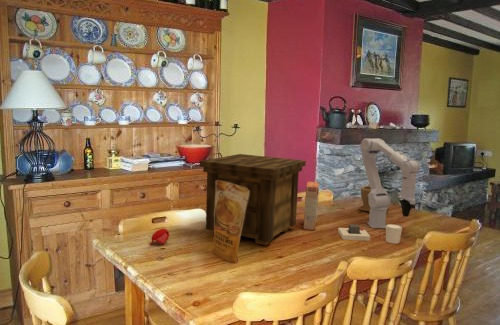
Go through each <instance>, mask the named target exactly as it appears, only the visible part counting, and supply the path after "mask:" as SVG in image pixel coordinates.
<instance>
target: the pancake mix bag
mask: <svg viewBox="0 0 500 325" xmlns="http://www.w3.org/2000/svg"><path fill="white" fill-rule="evenodd" d="M249 197H250V191H249V189H248V188H247V187H244V186H240V185H236V184H233V183H230V182H226V181H222V180H217V181H215V208H214V234H213V240H212V241H213V242H212V253H213V254H214V255H216V256H218V257H219V258H221V259H223V260H224V261H225V262H226V261H227V262H228V263H237V264H238V262H239V258H238V250H239V247H240V242H241V237H242V236H241V232H242V227H243V222H244V219H245V213H246V208H247V204H248V201H249Z"/></svg>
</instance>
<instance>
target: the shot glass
mask: <svg viewBox="0 0 500 325" xmlns="http://www.w3.org/2000/svg"><path fill="white" fill-rule="evenodd" d="M385 225H386V228H385V241H386V242H387V243H389V244H396V245H397V244H400V240H401V235H402V231H403V226H401V225H399V224H393V223H392V224H391V223H389V224H388V223H387V224H385Z"/></svg>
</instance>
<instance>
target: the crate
mask: <svg viewBox="0 0 500 325" xmlns="http://www.w3.org/2000/svg"><path fill="white" fill-rule="evenodd" d="M306 163H307V160H301V159H294V158H293V159H292V158H282V157H272V156H262V155H252V154H244V153H238V154H232V155H227V156H222V157H216V158H210V159H204V160H200V161H199V167H202V168H203V170H202V172H203V173H206V174H207V175H206V206H205V207H206V208H205V209H206V211H205V230H207V231H212V234H213V235H214V208H215V181H217V180H222V181H226V182H230V183H233V184H236V185H240V186H244V187H247V188H248V189H249V191H250V197H249V201H248V204H247V208H246V213H245V219H244V222H243V227H242V232H241V236H240V237H246V238H249V239H251V238H252V239H255V242H254V243H255V244H257V245H264V246H267V245H268V244H269V243H271V241H273V240H274V238H275V236H277V235H279V234H280V233H281V232H283V233H286V232H288V231H290V227H291V228H292V227H294V226H296V225H297V209H298V208H297V207H298V193H299V192H298V189H299V174H300V173H299V172H303V167H305V166H306V165H307V164H306Z"/></svg>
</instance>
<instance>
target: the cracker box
mask: <svg viewBox="0 0 500 325" xmlns="http://www.w3.org/2000/svg"><path fill="white" fill-rule="evenodd" d="M319 189H320V182H319V181H307V183H306V188H305V199H304V200H305V201H304V213H303V215H304V217H303V227H302V228H303V230H307V231H316V226H317V218H318V208H319V194H320V190H319Z"/></svg>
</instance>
